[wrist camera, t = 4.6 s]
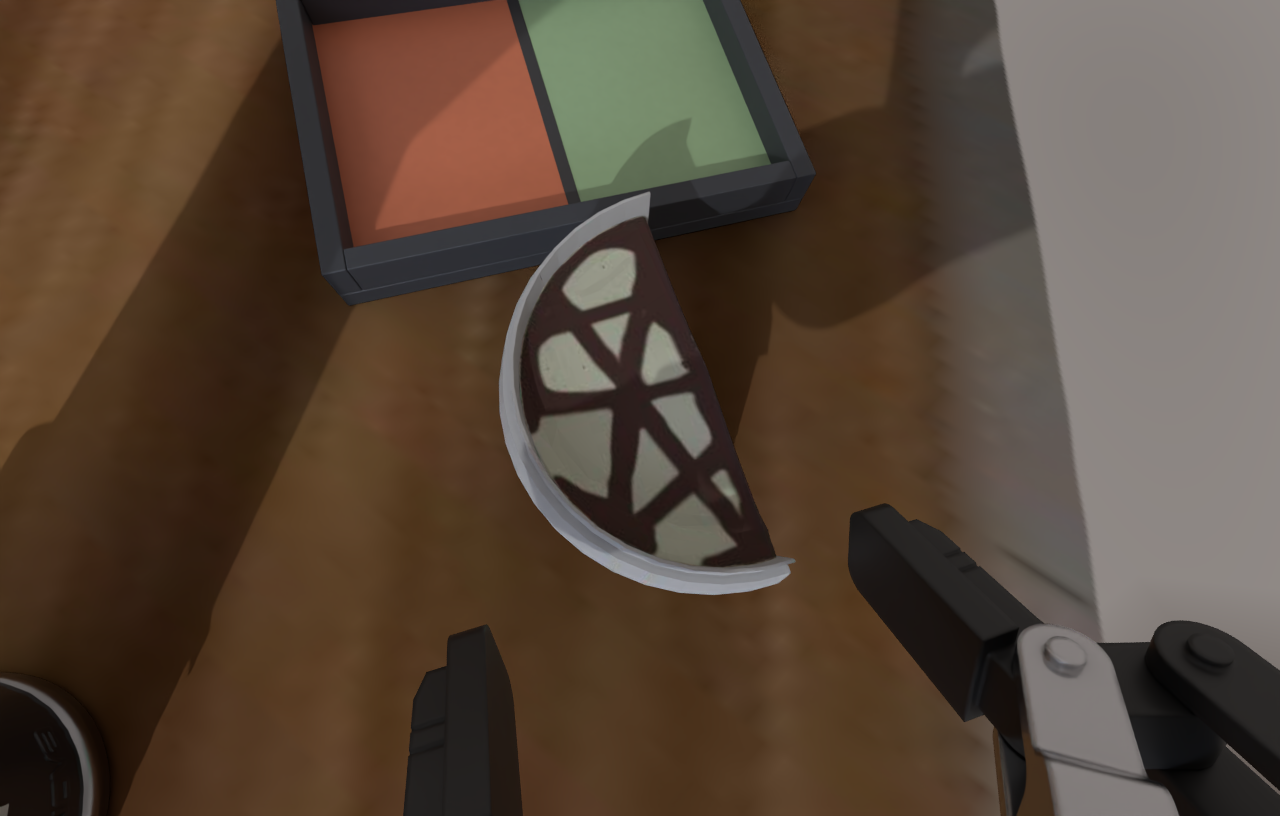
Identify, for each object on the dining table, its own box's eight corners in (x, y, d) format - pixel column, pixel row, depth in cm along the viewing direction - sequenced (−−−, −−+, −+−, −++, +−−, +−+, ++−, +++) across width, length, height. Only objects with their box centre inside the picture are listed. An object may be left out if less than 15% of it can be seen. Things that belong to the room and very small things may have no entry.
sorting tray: (348, 306, 26) (320, 275, 23) (300, 35, 30) (272, -19, 27) (796, 210, 30) (816, 173, 27) (698, -22, 34) (708, -74, 31)
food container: (494, 356, 26) (438, 223, 16) (624, 320, 27) (644, 176, 17) (574, 635, 23) (563, 672, 13) (718, 583, 24) (804, 582, 14)
